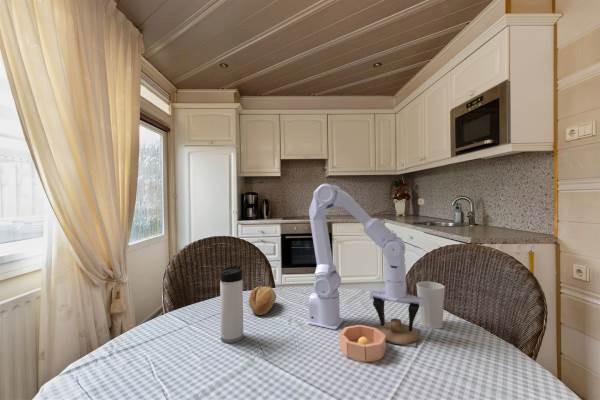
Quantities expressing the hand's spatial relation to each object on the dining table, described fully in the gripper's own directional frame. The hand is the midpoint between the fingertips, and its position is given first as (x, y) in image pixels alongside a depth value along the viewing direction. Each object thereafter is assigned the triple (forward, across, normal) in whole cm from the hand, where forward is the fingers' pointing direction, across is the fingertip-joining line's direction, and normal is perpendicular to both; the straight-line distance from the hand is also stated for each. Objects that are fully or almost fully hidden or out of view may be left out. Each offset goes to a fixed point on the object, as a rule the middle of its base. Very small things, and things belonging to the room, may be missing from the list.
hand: (396, 327), depth 78 cm
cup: (+2, +8, +12) cm, 14 cm away
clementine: (0, -6, -13) cm, 14 cm away
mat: (+2, 0, 0) cm, 2 cm away
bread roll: (+2, -46, -1) cm, 46 cm away
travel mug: (+2, -42, -22) cm, 47 cm away
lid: (+2, 0, 0) cm, 2 cm away
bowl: (+2, -6, -12) cm, 14 cm away
